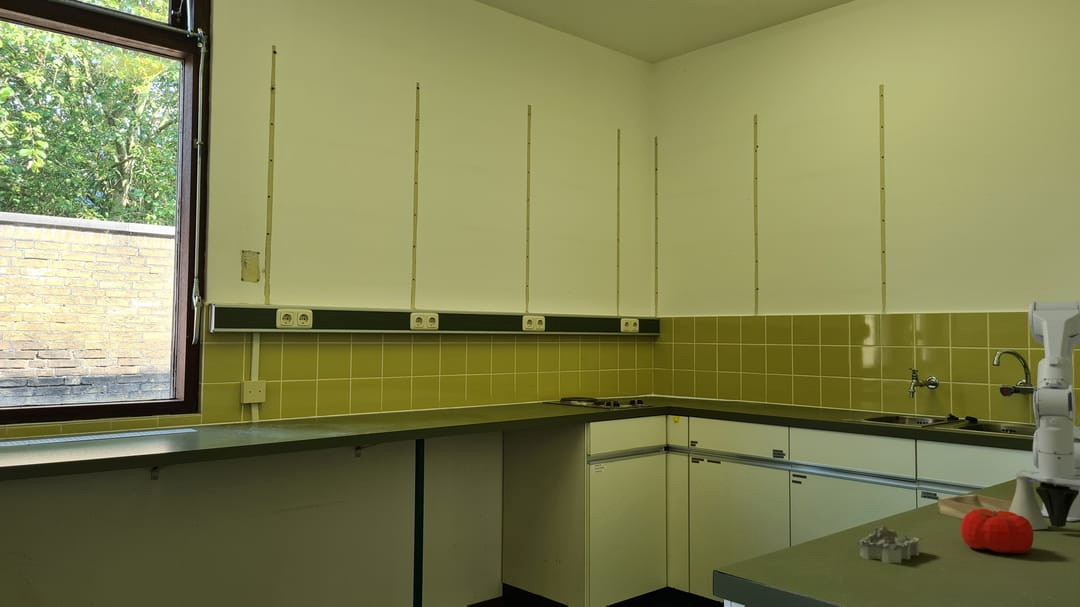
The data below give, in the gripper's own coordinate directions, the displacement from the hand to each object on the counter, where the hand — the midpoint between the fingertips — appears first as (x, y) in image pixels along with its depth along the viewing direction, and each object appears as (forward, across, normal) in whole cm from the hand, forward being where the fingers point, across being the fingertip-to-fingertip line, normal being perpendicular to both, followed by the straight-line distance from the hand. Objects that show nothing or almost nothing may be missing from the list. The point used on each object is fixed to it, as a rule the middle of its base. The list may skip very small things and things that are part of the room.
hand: (1058, 526), depth 149 cm
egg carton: (+2, -1, -40) cm, 40 cm away
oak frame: (+1, -16, 0) cm, 16 cm away
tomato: (+2, +4, -21) cm, 21 cm away
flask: (+2, -6, 0) cm, 7 cm away
